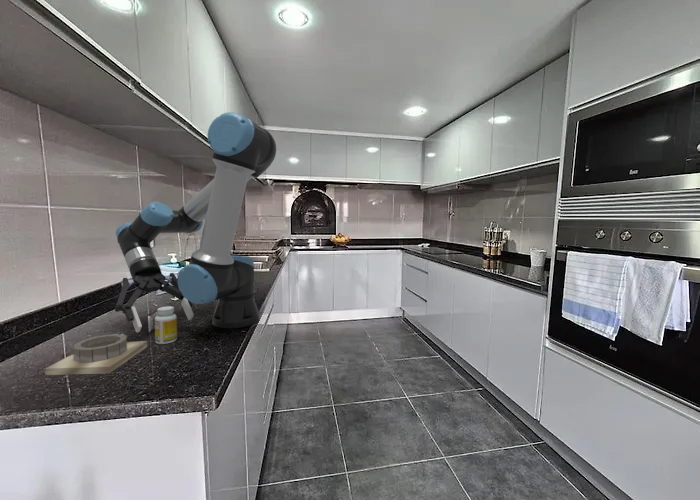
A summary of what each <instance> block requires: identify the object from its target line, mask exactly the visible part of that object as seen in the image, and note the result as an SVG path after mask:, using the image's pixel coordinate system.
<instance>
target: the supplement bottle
mask: <svg viewBox="0 0 700 500" xmlns="http://www.w3.org/2000/svg"><path fill="white" fill-rule="evenodd" d="M156 311H157V312H156V313H157V315H156V316H155V317H154V342H155V344H157V345H166V344H172V343H174V342H176V341H177V339H178V324H177V323H178V322H177V321H178V320H177V319H178V317H177V314H176V313H174V312H175V307H174V306H170V305H169V306H161V307H159V308H157V310H156Z"/></svg>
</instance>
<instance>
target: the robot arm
mask: <svg viewBox="0 0 700 500" xmlns="http://www.w3.org/2000/svg"><path fill="white" fill-rule="evenodd" d="M207 142H208V143H209V147H210V148H211V149H212V151H213V154H212V158H211V160H212V162H213V163H214V165H215V167H216V169H215V174H214V177H213V179H212V180H211V181H210V182H209V183H207V184H206V185H205V186H204V187H203V188H202V189H201V190H200V191H198V193H196V194H195V196H193V197H192V198H191V199H190V200H189V201H187V202H186V204H184V205H183V206H182V207H181V208H180V209H179V210H172V209H171V208H170V206H168V205H167V204H165V203H161V202H159V201H151V202H149V203H148V204H147V206H145V207H144V208H143V209H142V210H141V212H140V213H139V214H138V215H137V216H136V218H135V219H134V220H133V222H132V221H131V222H126V223H125V222H124V223H123V224H122V225H119V226H118V227H117V228H116V230H115V235H116V240H117V243H118V244H119V247H120V250H121V253H122V254H123V256H124V257H123V258H124V260H125V263H126V265H127V268H128V269H129V270H128V271H129V274H130V276H131V278H132V279H128V277H123V278H122V280H121V283H120V286H121V287H120V288H121V291H120V293H119V296H118V299H117V301H116V304H115V308H114V311H115V312H116V313H118V312H122V314H124V315H125V317H126V320H127V321H128V322H131V323H132V324H133V327H134V330H135V333H139V332H140V331H141V329H142V327H143V326H142V322H141V320H140V317H139V314H138V312H137V309H136V306H135V305H134V304H135V302H136V301H137V300H138V298H139V297H140V296H141V295H142V293H143V292H146V293H151V292H158V291H161V292H164V293H167V294H169V295H171V296H173V297H174V298H176V299H178V300H180V301H181V302H180V305H181V307H182V309H183V311H184V313H185V316H186V318H187V320H188V321H191V320H192V319H193V317H194V315H195V314H194V312H193V311H194V310H192V309H193V304H196V305H197V304H198V305H203V304H207V303H212V302H213V301H215V300H217V301H216V302H217V303H216V306H215V309H214V312H213V315H212V325H213V327H216V328H220V329H240V328H246V327H250V326H252V325H255V324H257V323H258V322H259V321H260V312H259V309H258V306H257V304H256V300H255V264H254V258H253V257H251V256H246V255H245V256H244V255H232V254H231V253H232V250H233V249H232V248H233V244H234V241H235V236H236V231H237V227H238V223H239V218H240V214H241V209H242V206H243V200H244V197H245V193H246V189H247V184H248V182H249V181H251V179H252V178H253V179H257V178H259V177H260V176H261V175H262V174H263V173H264V172H266V170H268V168H270V166H272V165H271V164H273V162H274V160H275V159H276V155H277V144H276V141H275V138H274V136H273V135H272V134H271V133H270V132H269V131H268V130H267V129H265V128H263V127H262V126H260V125H258V124H257V123H256V122H254V121H252V120H251V119H249V117H247V116H244V115H242V114H240V113H237V112H232V111H230V112H229V111H227V112H224V113H222V114H220V115H218V116H217V117H215V118H214V119H213V120H212V122H211V123H210V125H209V127H208V130H207ZM203 221H204V222H203ZM203 223H204V225H203ZM202 226H203V228H202ZM201 229H203V230H202V232H201V233H202V234H201V239H200V242H199V248H198V249H197V250H195V251H193V252H192V253H191V256H190V257H191V258H190V262H189V264H186V265H185V266H184V267H182V268H181V269H179V271H178V274H177V276H176V275H175V273H173V272H171V273H169V274H168V275H164V274H163V273H162V270H161V266H160V265H159V262H158V261H157V258H156V255H155V253H154V251H153V249H152V246H151V243H152V242H153V241H154V240H155V239H156V238H157V237H158V235H160V234H172V233H173V234H174V233H176V234H181V233H182V234H191V233H197V232H198V231H200V230H201ZM132 285H133V286H134V287H136V290H135V291H134V292H133V294H132V295H131V297H130V298H129V300H127V302H126V303H125V304H124V300H125V298H126V295H127V292H128V289H129V288H130V287H131V286H132Z"/></svg>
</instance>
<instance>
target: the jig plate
mask: <svg viewBox="0 0 700 500" xmlns="http://www.w3.org/2000/svg"><path fill="white" fill-rule="evenodd" d="M127 337H128V336H127V335H125V334H118V333H115V334H114V333H113V334H111V333H109V334H104V335H97V336H93V337H89V338H86V339H85V338H84V339H83V340H80V341H79V342H75V343H74V345H73V347H72V354H71V355H68V356H66V357H65V358H63V359H60V360H59V361H57V362H55V363H53V364H51V365H49V366H47V367H45V368H44V371H45V372H44V374H45V376H65V375H66V376H68V375H72V376H73V375H97V374H98V375H99V374H101V375H102V374H103V375H104V374H105V375H106V374H111V373H112V372H113V371H115V370H117V369H118V368H120V367H121V366H122V365H123V364H125V363H127V362H128V361H129V360H131V359H133V357H135V356H136V355H138V354H140V353H141V352H142V351H144V350H145V349H147V347H148V341H146V340H145V341H142V340H141V341H127Z"/></svg>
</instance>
